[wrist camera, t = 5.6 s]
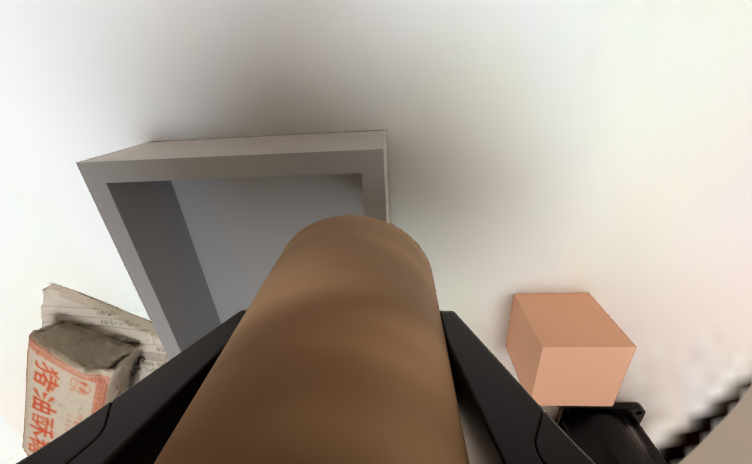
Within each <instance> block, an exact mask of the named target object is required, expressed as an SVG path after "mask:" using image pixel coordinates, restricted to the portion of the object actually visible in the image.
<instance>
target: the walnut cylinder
mask: <svg viewBox="0 0 752 464" xmlns="http://www.w3.org/2000/svg"><path fill="white" fill-rule="evenodd" d="M154 464H469V459H468V454H467V449H466V443H465V438H464V433H463V428H462V423H461V418H460V413H459V408H458V403H457V397H456V392H455V387H454V382H453V377H452V372H451V367H450V362H449V357H448V351H447V346H446V341H445V336H444V331H443V326H442V321H441V316H440V311H439V305H438V300H437V295H436V290H435V285H434V280H433V275H432V270H431V267H430V264H429V261H428V259H427V257H426V255H425V253H424V252H423V250H422V249H421V248H420V246H419V245H418V244H417V243H416V242H415V241H414V240H413V239H412V238H411V237H410V236H409V235H408V234H406V233H405V232H404V231H402V230H401V229H399V228H397V227H396V226H394V225H392V224H390V223H387V222H385V221H383V220H379V219H376V218H372V217H367V216H361V215H341V216H334V217H329V218H325V219H322V220H319V221H317V222H315V223H313V224H311V225H308V226H307V227H305V228H304V229H302V230H301V231H299V232H298V233H297V234H296V235H295V236H294V237H293V238H292V239H291V240H290V242H289V243H288V244H287V245H286V247H285V249H284V250H283V252H282V253H281V255H280V257H279V258H278V260H277V262H276V263H275V265H274V267H273V268H272V270H271V272H270V273H269V275H268V276H267V278H266V280H265V281H264V283H263V285H262V286H261V288H260V290H259V291H258V293H257V295H256V296H255V298H254V299H253V301H252V303H251V304H250V306H249V308H248V309H247V311H246V313H245V314H244V316H243V318H242V319H241V321H240V323H239V324H238V326H237V327H236V329H235V331H234V332H233V334H232V336H231V337H230V339H229V341H228V342H227V344H226V346H225V347H224V349H223V350H222V352H221V354H220V355H219V357H218V359H217V360H216V362H215V364H214V365H213V367H212V369H211V370H210V372H209V373H208V375H207V377H206V378H205V380H204V382H203V383H202V385H201V387H200V388H199V390H198V392H197V393H196V395H195V397H194V398H193V400H192V401H191V403H190V405H189V406H188V408H187V410H186V411H185V413H184V415H183V416H182V418H181V420H180V421H179V423H178V424H177V426H176V428H175V429H174V431H173V433H172V434H171V436H170V438H169V439H168V441H167V443H166V444H165V446H164V447H163V449H162V451H161V452H160V454H159V456H158V457H157V459H156V461H155V462H154Z"/></svg>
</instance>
